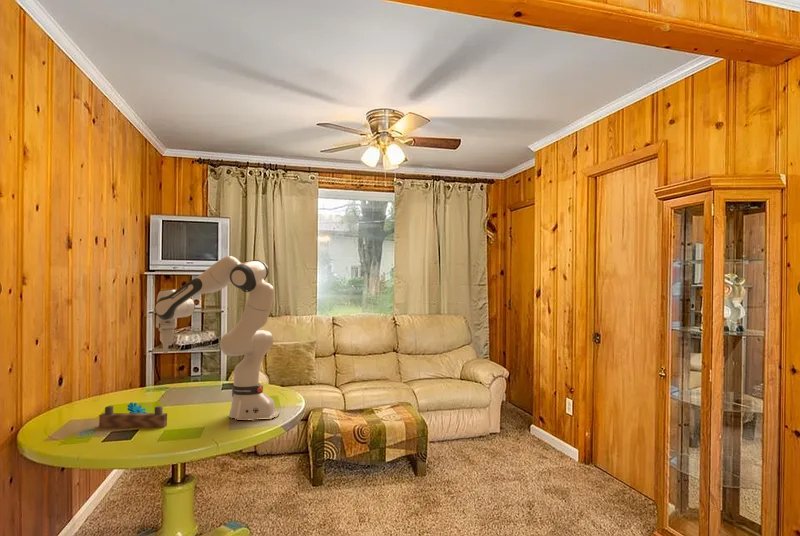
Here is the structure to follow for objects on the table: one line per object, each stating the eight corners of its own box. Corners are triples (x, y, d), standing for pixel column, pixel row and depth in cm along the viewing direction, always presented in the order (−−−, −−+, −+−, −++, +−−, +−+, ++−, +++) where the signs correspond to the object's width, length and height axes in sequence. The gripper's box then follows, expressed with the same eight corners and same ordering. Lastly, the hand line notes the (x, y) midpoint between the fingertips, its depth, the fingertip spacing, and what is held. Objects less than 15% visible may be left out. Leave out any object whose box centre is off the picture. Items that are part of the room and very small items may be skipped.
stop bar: (166, 425, 197) (167, 406, 197) (163, 427, 194) (164, 408, 194) (103, 425, 195) (103, 406, 195) (98, 427, 192) (99, 408, 192)
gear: (139, 420, 197) (125, 402, 199) (128, 430, 197) (114, 412, 198) (154, 416, 208) (141, 399, 210) (144, 425, 208) (131, 408, 209)
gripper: (157, 321, 227) (156, 350, 226) (160, 325, 209) (159, 356, 209) (171, 321, 230) (170, 349, 230) (176, 325, 213) (175, 355, 212)
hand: (165, 352), depth 219 cm, fingers closed
